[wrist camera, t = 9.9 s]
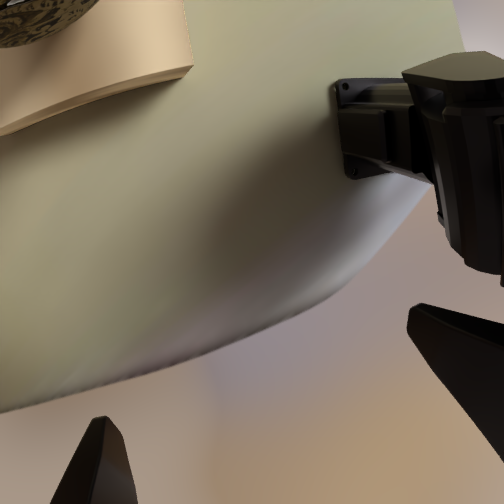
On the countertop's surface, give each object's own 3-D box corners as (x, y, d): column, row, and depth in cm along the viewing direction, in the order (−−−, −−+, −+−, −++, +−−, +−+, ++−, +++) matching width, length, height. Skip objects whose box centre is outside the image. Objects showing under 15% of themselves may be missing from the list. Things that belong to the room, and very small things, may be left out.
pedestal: (159, -67, 11) (165, -103, 7) (183, 77, 15) (194, 64, 11) (-4, -14, 8) (-31, -36, 5) (10, 134, 13) (-23, 140, 9)
